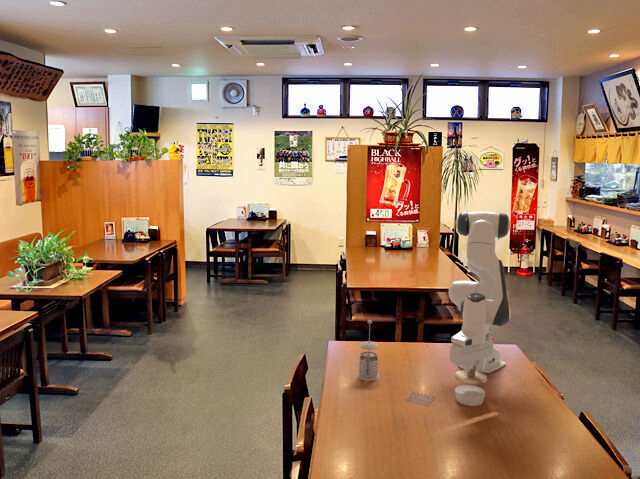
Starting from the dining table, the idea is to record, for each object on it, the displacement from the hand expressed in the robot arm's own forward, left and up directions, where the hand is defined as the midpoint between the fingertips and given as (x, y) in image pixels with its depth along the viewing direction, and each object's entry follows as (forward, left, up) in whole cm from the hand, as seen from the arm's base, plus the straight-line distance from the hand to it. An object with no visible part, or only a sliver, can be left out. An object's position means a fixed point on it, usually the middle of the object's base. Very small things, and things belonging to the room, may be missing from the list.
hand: (471, 371), depth 215 cm
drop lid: (0, 0, -3) cm, 3 cm away
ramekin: (0, 0, -13) cm, 13 cm away
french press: (+19, -40, -13) cm, 46 cm away
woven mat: (+16, -10, -14) cm, 23 cm away
